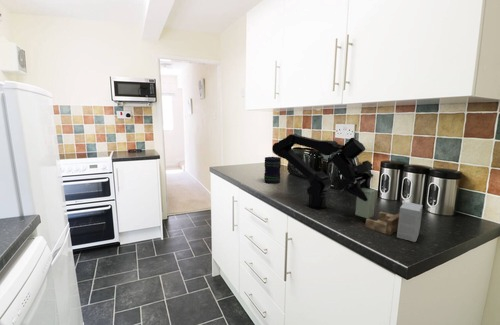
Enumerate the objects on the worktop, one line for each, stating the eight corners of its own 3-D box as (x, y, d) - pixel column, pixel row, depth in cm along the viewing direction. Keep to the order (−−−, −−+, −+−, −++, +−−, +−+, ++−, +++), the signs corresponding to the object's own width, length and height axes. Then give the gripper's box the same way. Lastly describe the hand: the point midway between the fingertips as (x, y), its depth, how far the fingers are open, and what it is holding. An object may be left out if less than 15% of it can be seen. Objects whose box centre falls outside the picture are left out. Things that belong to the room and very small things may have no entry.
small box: (400, 229, 92) (403, 201, 90) (419, 234, 88) (423, 204, 87) (396, 237, 86) (399, 207, 84) (415, 242, 82) (419, 211, 81)
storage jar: (260, 181, 159) (261, 157, 157) (271, 179, 166) (272, 156, 163) (272, 184, 152) (273, 159, 150) (283, 182, 159) (284, 158, 156)
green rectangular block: (355, 214, 100) (357, 189, 99) (360, 212, 103) (363, 187, 102) (368, 218, 97) (370, 192, 95) (373, 215, 100) (376, 190, 98)
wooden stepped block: (365, 227, 94) (366, 214, 93) (380, 218, 102) (381, 206, 101) (390, 235, 87) (391, 221, 86) (403, 225, 95) (405, 212, 95)
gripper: (346, 156, 93) (375, 192, 87) (370, 152, 105) (397, 183, 99) (326, 173, 100) (351, 208, 94) (350, 168, 112) (374, 198, 106)
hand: (369, 199), depth 98 cm, fingers closed on green rectangular block, 4 cm apart
